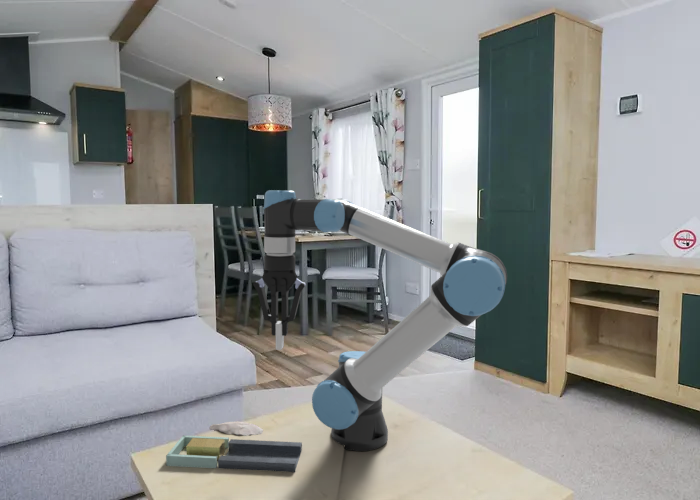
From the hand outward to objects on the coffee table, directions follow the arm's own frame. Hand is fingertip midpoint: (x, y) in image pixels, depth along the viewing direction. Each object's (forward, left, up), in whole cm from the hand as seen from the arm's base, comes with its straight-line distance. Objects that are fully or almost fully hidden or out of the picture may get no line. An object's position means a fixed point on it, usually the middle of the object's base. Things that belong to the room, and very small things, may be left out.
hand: (279, 347), depth 125 cm
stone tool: (+13, -8, -27) cm, 31 cm away
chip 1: (+19, +7, -26) cm, 33 cm away
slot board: (+3, +7, -26) cm, 27 cm away
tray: (+18, +7, -26) cm, 33 cm away
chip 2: (+15, +7, -26) cm, 31 cm away
